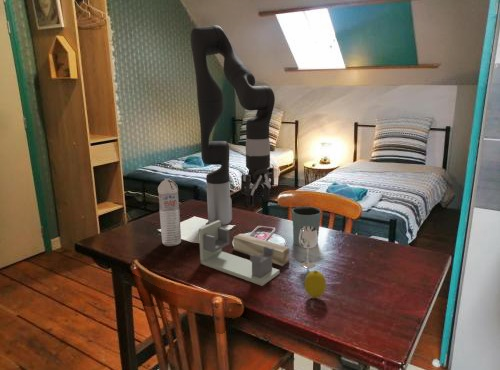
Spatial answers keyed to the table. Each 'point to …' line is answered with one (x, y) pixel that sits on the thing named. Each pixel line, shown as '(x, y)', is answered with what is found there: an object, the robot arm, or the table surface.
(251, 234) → the phone case
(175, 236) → the water bottle
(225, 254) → the bracket stand
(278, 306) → the table surface
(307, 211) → the grey plant pot
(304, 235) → the wineglass
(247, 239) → the rail
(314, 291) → the lemon
